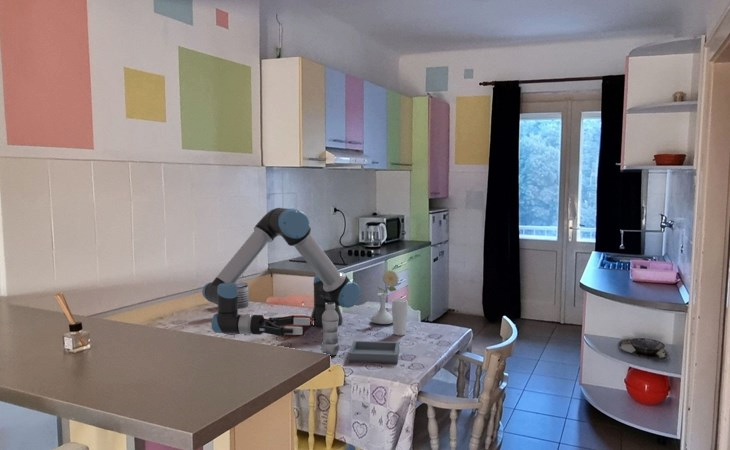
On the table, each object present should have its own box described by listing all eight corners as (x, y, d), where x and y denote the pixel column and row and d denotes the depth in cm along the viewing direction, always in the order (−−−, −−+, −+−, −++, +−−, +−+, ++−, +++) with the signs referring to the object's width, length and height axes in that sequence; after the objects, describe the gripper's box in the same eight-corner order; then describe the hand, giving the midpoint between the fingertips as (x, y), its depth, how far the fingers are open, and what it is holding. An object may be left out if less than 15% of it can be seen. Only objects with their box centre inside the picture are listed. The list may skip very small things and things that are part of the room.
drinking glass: (406, 336, 239) (406, 302, 237) (390, 336, 240) (390, 301, 239) (408, 332, 245) (408, 299, 244) (392, 331, 247) (393, 298, 245)
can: (248, 308, 292) (248, 285, 291) (226, 309, 289) (225, 286, 288) (248, 303, 303) (248, 281, 302) (226, 304, 300) (226, 282, 300)
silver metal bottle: (321, 352, 217) (321, 301, 215) (338, 352, 217) (338, 301, 216) (321, 357, 210) (321, 305, 209) (339, 357, 211) (339, 305, 209)
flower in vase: (371, 326, 256) (371, 272, 254) (370, 320, 267) (370, 268, 265) (399, 326, 256) (399, 272, 254) (397, 320, 267) (397, 268, 265)
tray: (353, 349, 221) (353, 340, 221) (399, 350, 219) (399, 342, 219) (348, 362, 205) (348, 353, 205) (397, 364, 203) (397, 354, 203)
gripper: (262, 325, 229) (312, 327, 227) (241, 343, 204) (298, 345, 202) (261, 307, 228) (312, 309, 226) (241, 323, 204) (298, 324, 201)
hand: (306, 326), depth 214 cm, fingers open, 13 cm apart
